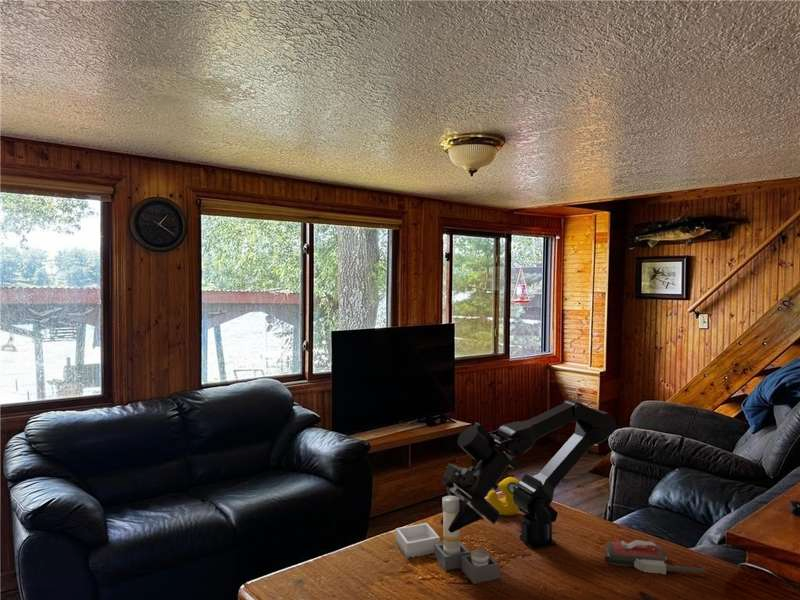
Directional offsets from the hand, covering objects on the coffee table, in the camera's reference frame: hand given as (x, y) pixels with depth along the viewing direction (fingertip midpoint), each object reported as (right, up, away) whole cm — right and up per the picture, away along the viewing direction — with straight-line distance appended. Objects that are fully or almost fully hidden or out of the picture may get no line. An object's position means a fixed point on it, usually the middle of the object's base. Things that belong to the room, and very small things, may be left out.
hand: (445, 527), depth 125 cm
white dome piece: (+7, -8, -5) cm, 12 cm away
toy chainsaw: (+45, -8, -2) cm, 46 cm away
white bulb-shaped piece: (+1, -7, +1) cm, 7 cm away
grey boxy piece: (+7, -8, -5) cm, 12 cm away
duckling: (+19, -7, +25) cm, 32 cm away
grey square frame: (+1, -8, +1) cm, 8 cm away
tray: (-6, -8, +8) cm, 13 cm away
